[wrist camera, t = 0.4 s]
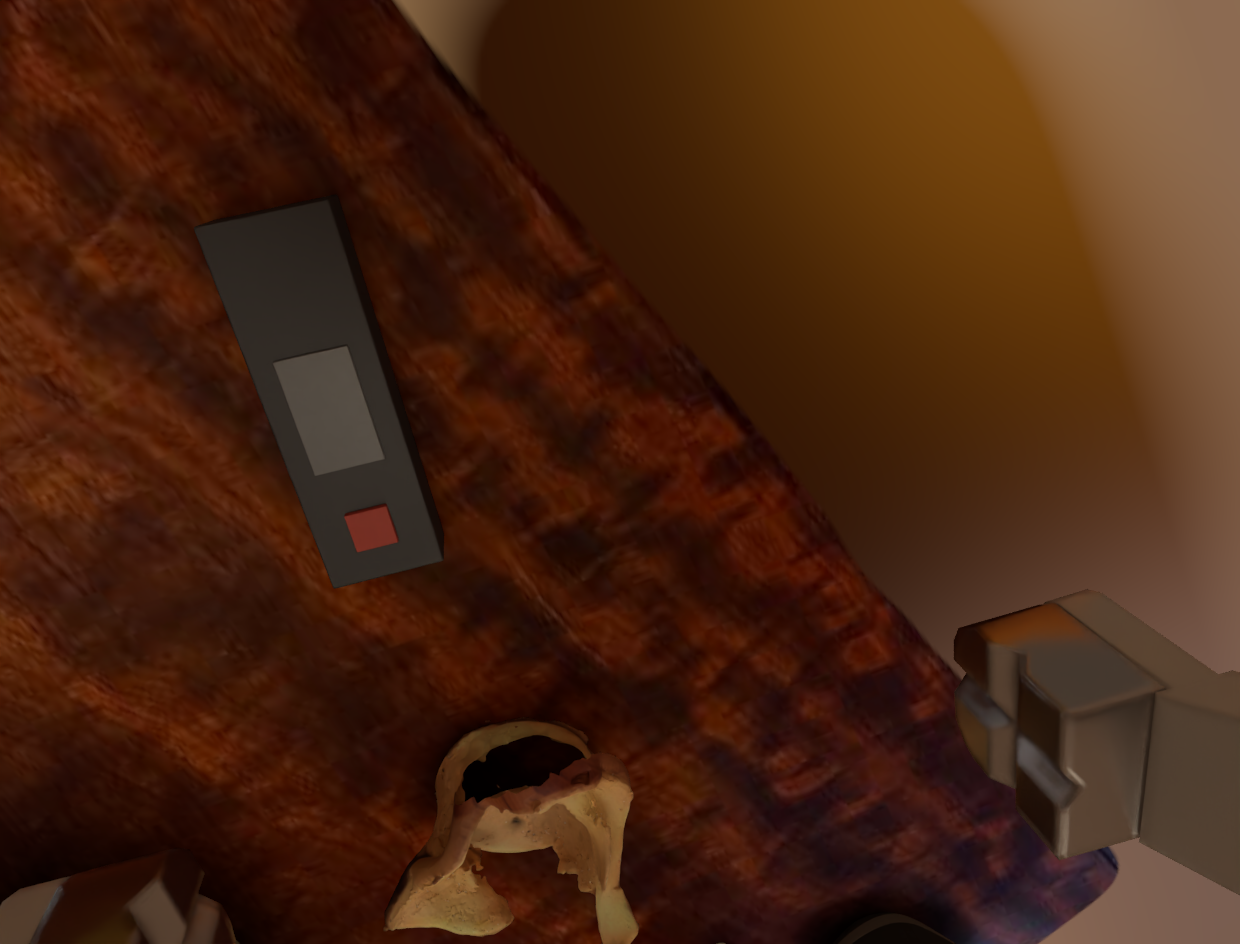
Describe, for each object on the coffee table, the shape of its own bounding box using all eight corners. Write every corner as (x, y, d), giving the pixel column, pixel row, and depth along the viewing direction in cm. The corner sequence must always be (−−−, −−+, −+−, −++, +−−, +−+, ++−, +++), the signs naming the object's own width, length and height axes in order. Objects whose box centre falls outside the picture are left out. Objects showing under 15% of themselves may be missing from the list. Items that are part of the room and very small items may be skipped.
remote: (212, 220, 29) (190, 228, 26) (337, 193, 29) (327, 199, 27) (341, 560, 35) (332, 592, 32) (444, 534, 35) (443, 564, 33)
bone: (563, 650, 38) (591, 777, 31) (668, 775, 42) (716, 915, 35) (353, 788, 39) (329, 946, 31) (476, 898, 43) (482, 1062, 35)
